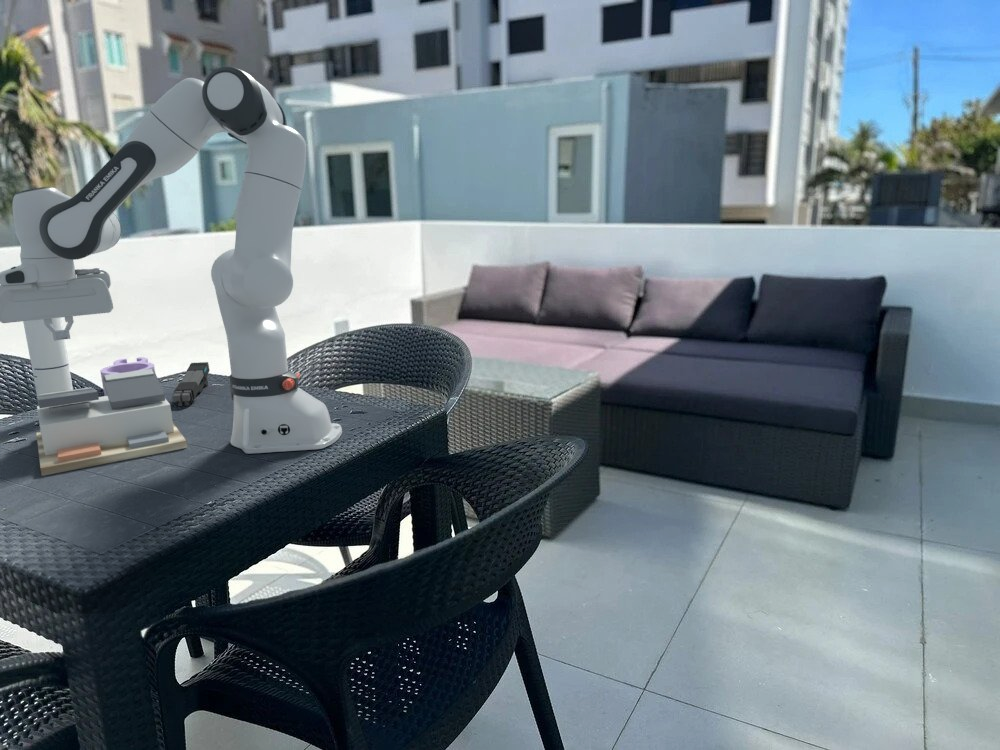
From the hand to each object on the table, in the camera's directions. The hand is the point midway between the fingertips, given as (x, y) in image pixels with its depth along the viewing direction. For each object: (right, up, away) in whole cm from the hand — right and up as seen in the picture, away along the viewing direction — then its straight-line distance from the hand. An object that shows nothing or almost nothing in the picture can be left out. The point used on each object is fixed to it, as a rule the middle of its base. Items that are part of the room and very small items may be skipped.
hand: (62, 339), depth 144 cm
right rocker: (+12, -10, +5) cm, 16 cm away
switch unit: (+9, -22, +2) cm, 23 cm away
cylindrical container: (-13, -18, +19) cm, 29 cm away
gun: (+11, -13, +37) cm, 41 cm away
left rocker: (+2, -12, -2) cm, 12 cm away
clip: (-8, -12, +43) cm, 45 cm away
